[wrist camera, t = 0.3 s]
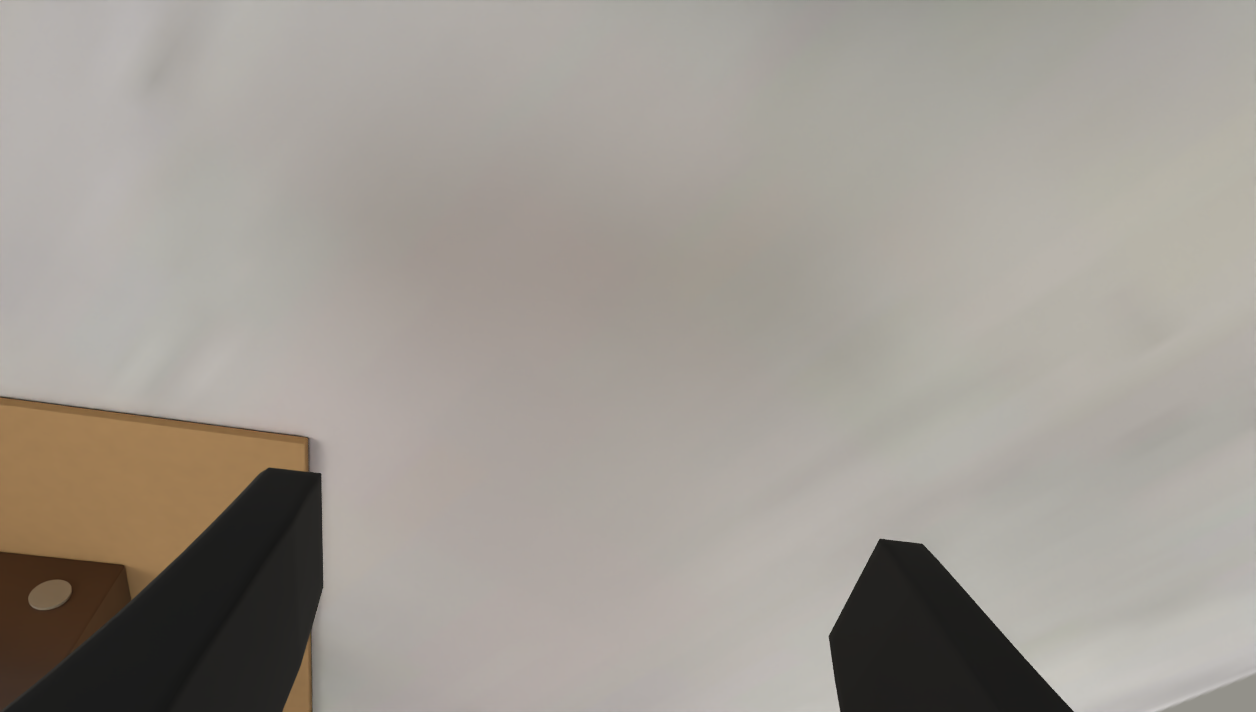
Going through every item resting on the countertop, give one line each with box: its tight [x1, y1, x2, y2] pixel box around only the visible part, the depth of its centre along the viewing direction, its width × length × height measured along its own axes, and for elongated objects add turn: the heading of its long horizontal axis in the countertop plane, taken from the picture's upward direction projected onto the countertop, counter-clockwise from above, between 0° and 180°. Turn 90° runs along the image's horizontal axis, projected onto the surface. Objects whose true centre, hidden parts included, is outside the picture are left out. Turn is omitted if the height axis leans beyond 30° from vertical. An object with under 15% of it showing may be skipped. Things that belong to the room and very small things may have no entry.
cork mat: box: [0, 398, 312, 712], centre depth 26 cm, size 20×16×1 cm
